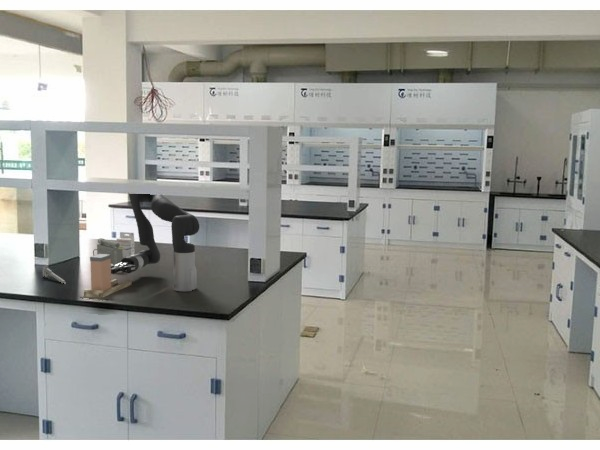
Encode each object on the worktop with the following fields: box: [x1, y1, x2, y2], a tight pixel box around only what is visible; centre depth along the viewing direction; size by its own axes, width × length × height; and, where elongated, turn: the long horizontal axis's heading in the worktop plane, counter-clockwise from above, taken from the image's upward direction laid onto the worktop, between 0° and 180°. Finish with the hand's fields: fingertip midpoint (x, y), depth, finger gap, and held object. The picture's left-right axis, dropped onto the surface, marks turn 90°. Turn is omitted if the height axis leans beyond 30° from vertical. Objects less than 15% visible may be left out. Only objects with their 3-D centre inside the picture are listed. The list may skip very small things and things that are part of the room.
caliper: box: [42, 264, 67, 285], centre depth 279 cm, size 20×1×6 cm, turn 49°
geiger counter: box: [92, 237, 123, 265], centre depth 310 cm, size 14×6×25 cm
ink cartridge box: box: [116, 231, 136, 258], centre depth 328 cm, size 9×5×15 cm, turn 84°
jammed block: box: [89, 254, 112, 291], centre depth 253 cm, size 5×7×16 cm
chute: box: [79, 278, 133, 301], centre depth 259 cm, size 12×24×4 cm, turn 166°
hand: (111, 271), depth 261 cm, fingers closed
